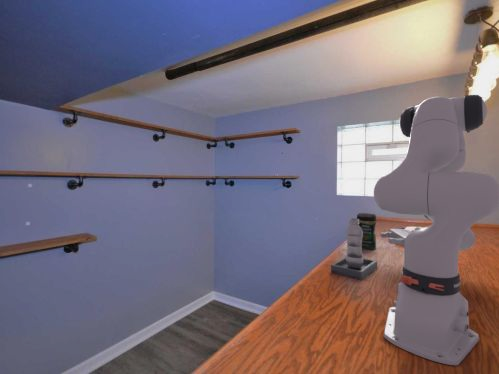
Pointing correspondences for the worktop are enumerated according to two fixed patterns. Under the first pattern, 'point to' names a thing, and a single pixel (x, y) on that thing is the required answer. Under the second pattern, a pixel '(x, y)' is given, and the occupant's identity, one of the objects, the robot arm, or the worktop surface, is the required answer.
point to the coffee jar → (368, 230)
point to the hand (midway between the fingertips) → (384, 237)
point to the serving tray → (361, 273)
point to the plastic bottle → (354, 244)
